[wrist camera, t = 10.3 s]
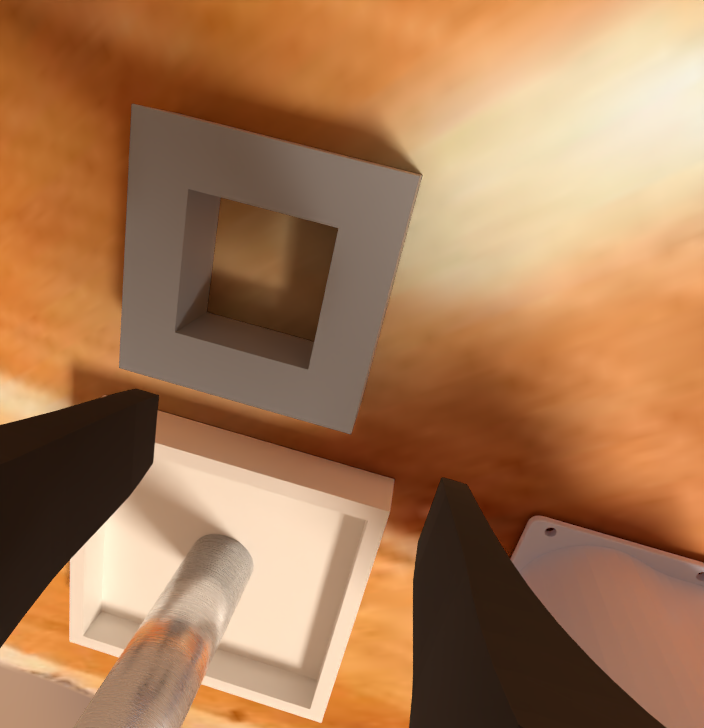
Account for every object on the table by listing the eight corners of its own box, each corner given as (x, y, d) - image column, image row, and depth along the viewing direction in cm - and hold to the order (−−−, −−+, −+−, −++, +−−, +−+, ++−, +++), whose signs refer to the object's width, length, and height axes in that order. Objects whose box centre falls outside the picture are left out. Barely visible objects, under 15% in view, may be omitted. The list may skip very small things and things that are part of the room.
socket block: (422, 175, 19) (419, 176, 16) (361, 402, 23) (351, 434, 20) (174, 112, 20) (131, 103, 17) (156, 344, 24) (119, 367, 21)
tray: (394, 479, 24) (390, 511, 22) (330, 680, 30) (321, 723, 28) (104, 394, 25) (70, 417, 23) (96, 606, 31) (69, 641, 29)
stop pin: (258, 545, 26) (158, 752, 17) (248, 593, 27) (151, 809, 18) (194, 526, 26) (61, 719, 17) (188, 574, 28) (61, 778, 18)
